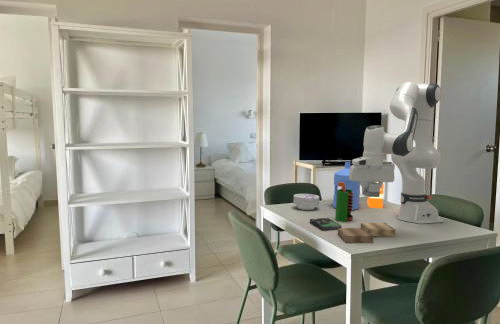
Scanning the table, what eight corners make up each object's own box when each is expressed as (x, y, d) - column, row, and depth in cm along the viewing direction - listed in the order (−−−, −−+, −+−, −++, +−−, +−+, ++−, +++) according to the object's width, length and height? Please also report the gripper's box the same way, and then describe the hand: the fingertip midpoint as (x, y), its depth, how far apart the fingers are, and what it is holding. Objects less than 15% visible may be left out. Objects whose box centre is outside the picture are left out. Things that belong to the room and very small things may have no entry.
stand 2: (384, 228, 185) (384, 222, 185) (395, 236, 173) (395, 229, 173) (360, 228, 184) (360, 222, 184) (369, 236, 173) (370, 229, 172)
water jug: (357, 205, 236) (359, 160, 233) (361, 211, 221) (363, 163, 218) (332, 204, 238) (333, 160, 235) (333, 210, 223) (335, 162, 220)
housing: (372, 193, 177) (373, 181, 176) (379, 197, 169) (380, 183, 168) (362, 193, 176) (362, 181, 176) (368, 196, 169) (369, 183, 168)
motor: (353, 222, 195) (354, 184, 193) (335, 221, 197) (336, 183, 195) (351, 217, 205) (353, 181, 203) (335, 216, 207) (336, 180, 205)
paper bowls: (318, 206, 233) (318, 193, 232) (319, 212, 218) (320, 198, 217) (293, 205, 234) (293, 192, 234) (293, 211, 219) (293, 197, 218)
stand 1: (363, 234, 175) (363, 228, 175) (372, 242, 163) (373, 235, 163) (337, 234, 175) (337, 228, 174) (345, 242, 163) (345, 236, 162)
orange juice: (379, 205, 237) (381, 173, 235) (382, 208, 229) (384, 175, 227) (367, 204, 238) (368, 173, 236) (369, 207, 230) (370, 175, 228)
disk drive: (309, 224, 194) (323, 232, 180) (309, 218, 194) (323, 226, 180) (327, 222, 197) (342, 230, 183) (327, 217, 197) (342, 224, 183)
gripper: (391, 161, 175) (389, 190, 176) (348, 160, 174) (347, 189, 175) (398, 162, 169) (395, 193, 170) (353, 161, 167) (351, 192, 169)
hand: (370, 191), depth 173 cm, fingers closed on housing, 5 cm apart
